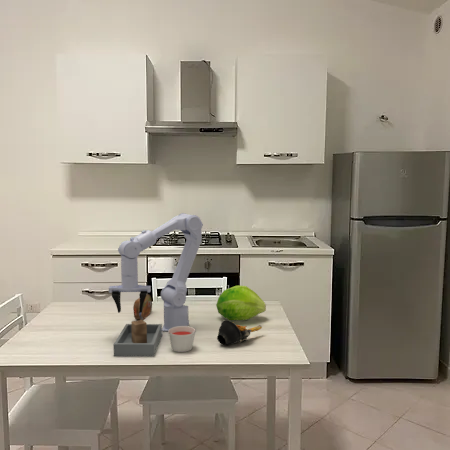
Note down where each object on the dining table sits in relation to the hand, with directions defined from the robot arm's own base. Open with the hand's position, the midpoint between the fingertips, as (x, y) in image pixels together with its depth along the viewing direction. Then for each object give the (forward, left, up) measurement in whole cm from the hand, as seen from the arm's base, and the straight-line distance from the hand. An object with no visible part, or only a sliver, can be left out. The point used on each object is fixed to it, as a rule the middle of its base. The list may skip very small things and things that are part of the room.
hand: (130, 311), depth 169 cm
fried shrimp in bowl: (-39, +4, -10) cm, 41 cm away
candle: (-19, +11, -10) cm, 24 cm away
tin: (0, -23, -10) cm, 25 cm away
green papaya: (-40, -20, -10) cm, 46 cm away
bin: (-4, +8, -9) cm, 13 cm away
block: (-4, +8, -8) cm, 12 cm away
